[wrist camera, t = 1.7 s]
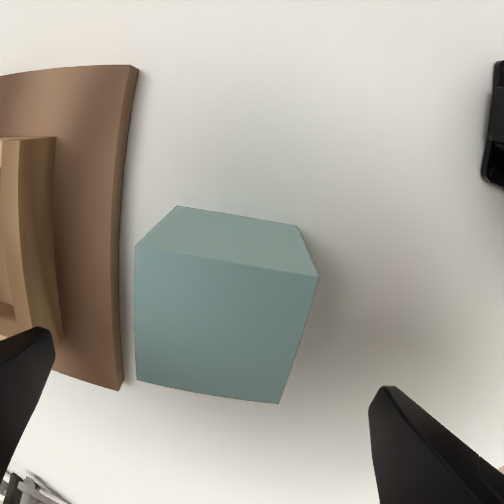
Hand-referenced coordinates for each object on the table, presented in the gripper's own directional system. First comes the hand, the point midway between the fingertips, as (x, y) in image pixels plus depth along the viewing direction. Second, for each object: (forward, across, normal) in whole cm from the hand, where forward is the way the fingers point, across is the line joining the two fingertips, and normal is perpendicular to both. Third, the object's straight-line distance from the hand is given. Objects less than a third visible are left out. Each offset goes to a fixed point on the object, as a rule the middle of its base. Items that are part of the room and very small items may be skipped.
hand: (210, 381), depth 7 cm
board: (+7, +13, 0) cm, 15 cm away
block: (+7, 0, 0) cm, 7 cm away
